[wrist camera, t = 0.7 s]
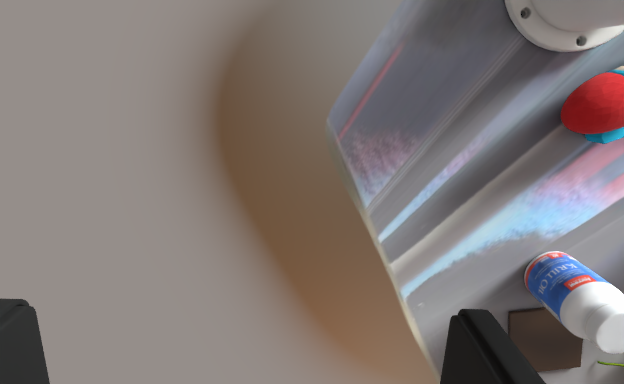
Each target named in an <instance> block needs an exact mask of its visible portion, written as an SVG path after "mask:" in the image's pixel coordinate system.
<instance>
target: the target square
mask: <svg viewBox="0 0 624 384" xmlns="http://www.w3.org/2000/svg"><path fill="white" fill-rule="evenodd" d="M508 336H509V337H510V338H511V340H512V341H513V342H514V343H515V345H516V346H517V347H518V349H519V350H520V351H521V352H522V354H523V355H524V356H525V358H526V359H527V360H528V361H529V363H530V364H531V365H532V367H533V368H534V369H535V370H536V372H542V371H550V370H558V369H566V368H574V367H580V366H581V354H582V343H583V338H580V337H577V336H576V335H574V334H572V333H571V332H570V331H569V330H568V329H567V328H566V327H565V326H564V325H563V324H562V323H561V322H560V321H559V320H558V319H557V318H556V317H555V316H554V315H553V314H552V313H551V312H550V311H549V310H548V309H547V308H546V307H544V308H536V309H528V310H520V311H511V312H509V325H508Z"/></svg>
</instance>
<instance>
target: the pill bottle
mask: <svg viewBox="0 0 624 384" xmlns="http://www.w3.org/2000/svg"><path fill="white" fill-rule="evenodd" d="M524 280H525V285H526V287H527V289H528V290H529V291H530V293H531V294H532V295H533V296H534V297H535V298H536V299H537V300H538V301H539V302H540V303H541V304H543V305H544V306H545V307H546V308H547V309H548V310H549V311H550V312H551V313H552V314H553V315H554V316H555V317H556V318H557V319H558V320H559V321H560V322H561V323H562V324H563V325H564V326H565V327H566V328H567V329H568V330H569V331H570V332H571V333H572V334H574V335H576V336H577V337H580V338H583V339H587V340H590V341H591V342H592V343H594V344H595V345H596V346H597V347H598V348H599V349H600V350H602V351H604V352H606V353H610V354H619V353H623V352H624V295H623V294H622V292H620V291H619V290H618V289H617V288H615V287H614V286H613V285H611V284H610V283H609V282H607V281H606V280H604V279H603V278H601V277H600V276H599V275H597V274H596V273H594V272H593V271H591V270H590V269H588V268H587V267H586V266H584V265H583V264H581V263H580V262H578V261H577V260H575V259H574V258H573V257H571V256H569V255H568V254H566V253H563V252H558V251H551V252H546V253H543V254H541V255H539V256H537V257H536V258H535V259H533V260H532V261H531V262H530V264H529V265H528V266H527V268H526V271H525V275H524Z"/></svg>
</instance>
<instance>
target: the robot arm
mask: <svg viewBox="0 0 624 384" xmlns="http://www.w3.org/2000/svg"><path fill="white" fill-rule="evenodd" d="M505 5H506V8H507V11H508V13H509V16H510V18H511V20H512V22H513V23H514V25H515V26H516V28H517V30H518V31H519V32H520V33H521V34H522V35H523V36H524V37H525V38H526V39H527V40H529V41H531V42H532V43H534V44H535V45H537V46H539V47H542V48H544V49H547V50H550V51H558V52H575V51H581V50H587V49H591V48H594V47H597V46H599V45H602V44H604V43H606V42H608V41H610V40H611V39H613V38H615V37H616V36H618V35H619V34H620V33H622V32H623V31H624V0H505ZM521 12H522V14H523V15H522V17H521ZM0 384H50V383H49V378H48V372H47V367H46V362H45V357H44V352H43V346H42V342H41V336H40V331H39V326H38V320H37V315H36V311H35V309H34V308H33V307H31V306H29V304H28V302H27V301H26V300H23V299H0ZM440 384H546V383H545V382H544V381H543V379H542V378H541V377H540V376H539V374H538V373H537V372H536V370H535V369H534V368H533V367H532V365H531V364H530V363H529V361H528V360H527V359H526V358H525V356H524V355H523V354H522V352H521V351H520V350H519V349H518V347H517V346H516V345H515V343H514V342H513V341H512V340H511V338H510V337H509V336H508V334H507V333H506V332H505V331H504V329H503V328H502V327H501V325H500V324H499V323H498V322H497V320H496V319H495V318H494V316H493V315H492V314H491V313H490V312H489V311H488V310H483V309H461V310H460V311H459V313H458V315H454V316H452V317H451V320H450V325H449V331H448V338H447V344H446V350H445V356H444V362H443V369H442V375H441V381H440Z"/></svg>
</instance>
